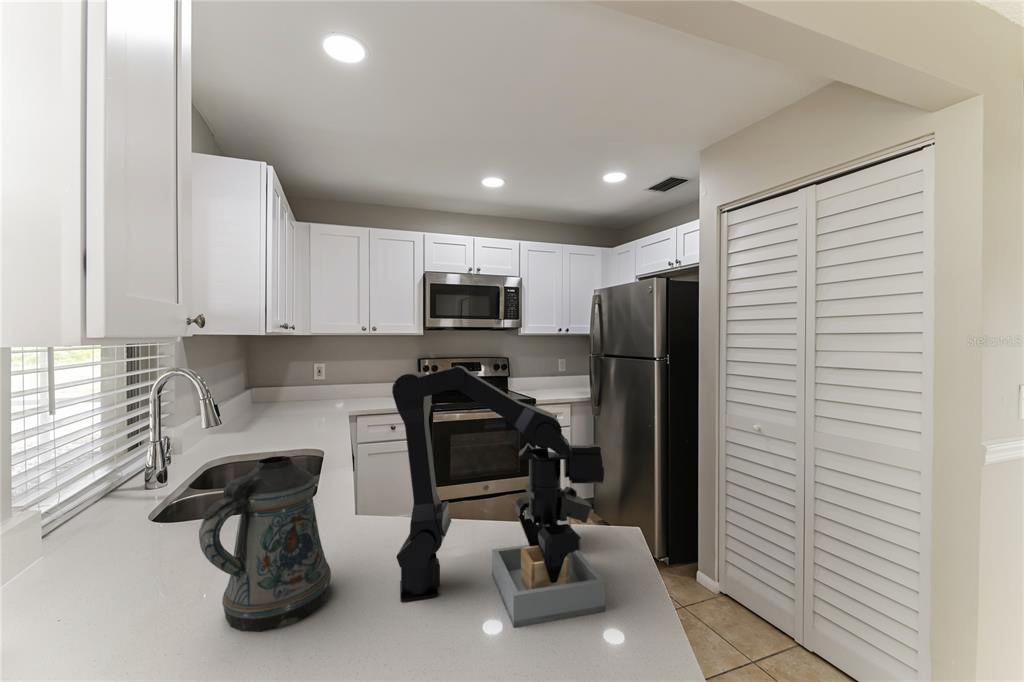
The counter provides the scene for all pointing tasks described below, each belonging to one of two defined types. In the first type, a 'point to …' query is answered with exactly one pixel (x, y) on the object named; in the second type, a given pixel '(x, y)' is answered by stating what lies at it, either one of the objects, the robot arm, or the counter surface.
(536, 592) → the slate gray crate
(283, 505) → the beer stein
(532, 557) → the oak crate
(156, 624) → the counter surface
